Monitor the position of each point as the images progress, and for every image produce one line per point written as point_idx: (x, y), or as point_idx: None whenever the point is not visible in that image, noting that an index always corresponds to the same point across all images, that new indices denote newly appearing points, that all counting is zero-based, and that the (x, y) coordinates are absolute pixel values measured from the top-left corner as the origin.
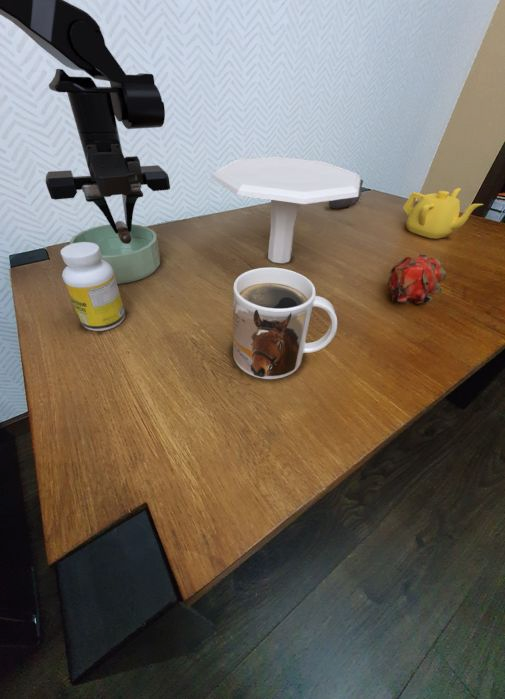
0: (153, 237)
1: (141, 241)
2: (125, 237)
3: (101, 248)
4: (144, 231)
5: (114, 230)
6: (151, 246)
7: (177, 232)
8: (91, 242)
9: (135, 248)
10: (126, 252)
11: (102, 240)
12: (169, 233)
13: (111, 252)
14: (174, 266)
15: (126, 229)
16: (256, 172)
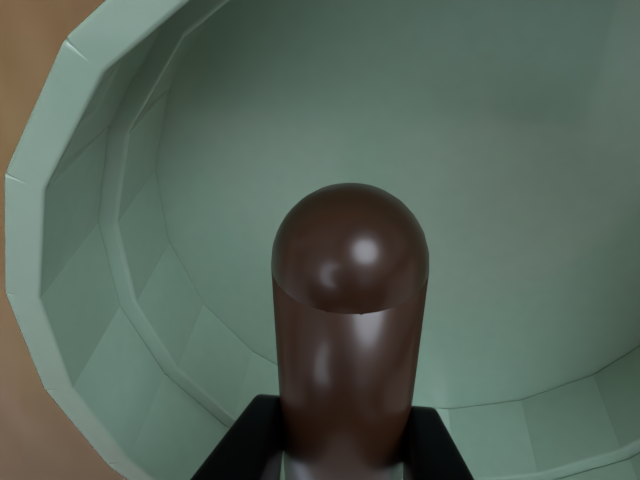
0: (34, 260)
1: (220, 385)
2: (354, 226)
3: (513, 424)
4: (152, 439)
5: (446, 434)
6: (61, 60)
7: (15, 465)
8: (588, 471)
9: None
10: None
11: (497, 474)
12: (63, 470)
13: (453, 380)
14: (14, 28)
15: (296, 409)
16: None
